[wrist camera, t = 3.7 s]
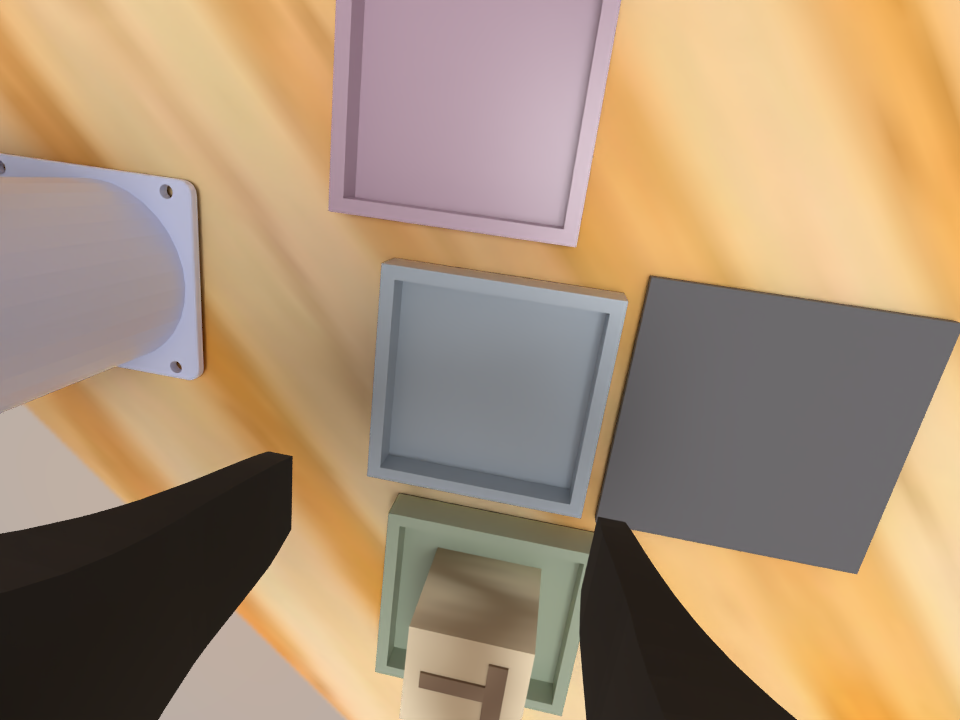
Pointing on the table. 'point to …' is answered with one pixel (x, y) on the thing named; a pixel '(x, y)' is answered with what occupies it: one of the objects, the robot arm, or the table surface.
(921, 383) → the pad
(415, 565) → the tray far
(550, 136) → the tray near
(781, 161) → the table surface
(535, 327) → the tray mid
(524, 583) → the letter cube
